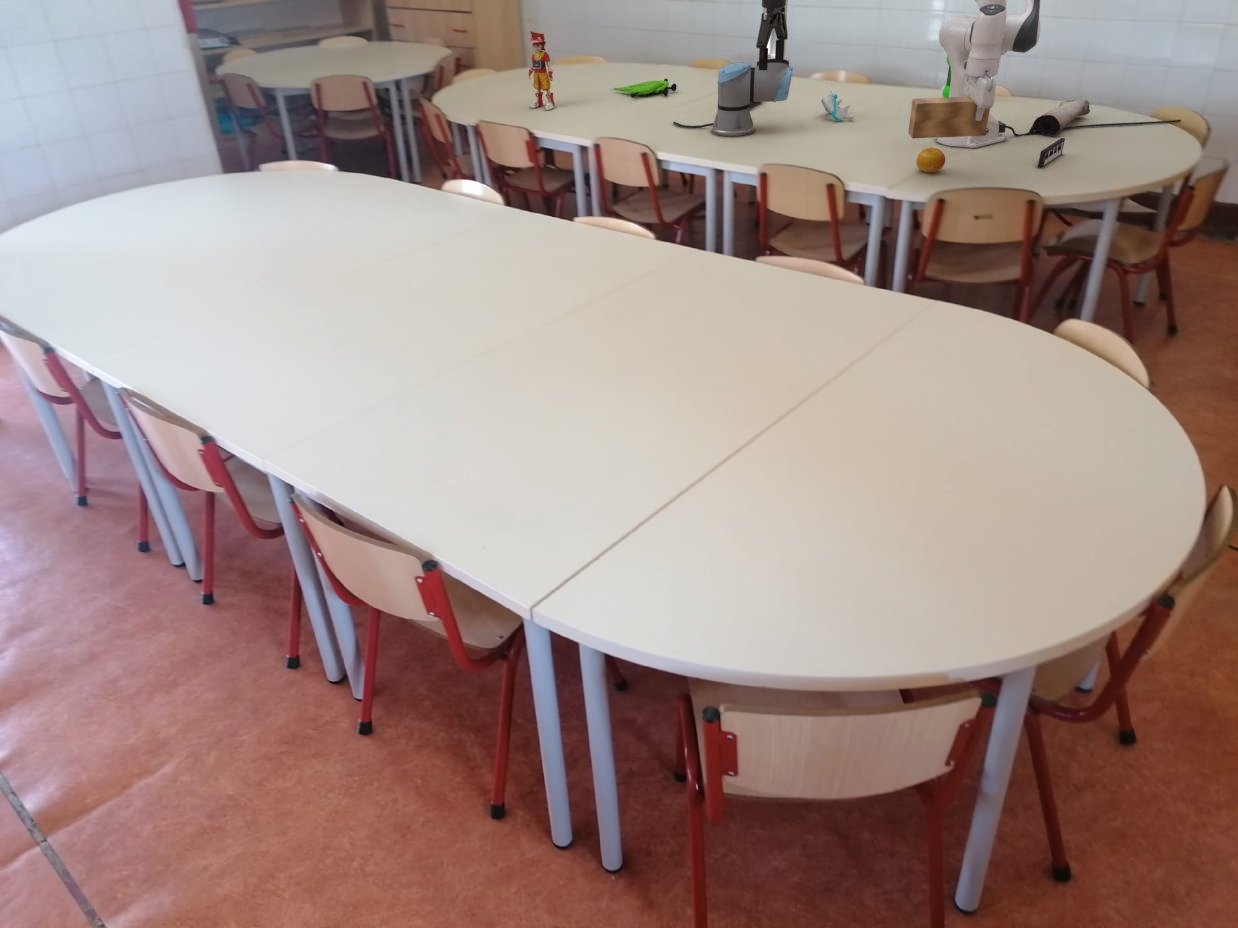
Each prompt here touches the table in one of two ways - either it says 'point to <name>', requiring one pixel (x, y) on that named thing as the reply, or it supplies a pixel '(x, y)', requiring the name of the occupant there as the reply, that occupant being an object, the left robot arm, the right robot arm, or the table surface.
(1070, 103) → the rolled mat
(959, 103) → the box
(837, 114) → the anatomical model
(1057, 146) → the midi keyboard
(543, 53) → the toy
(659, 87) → the toy
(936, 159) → the fruit
